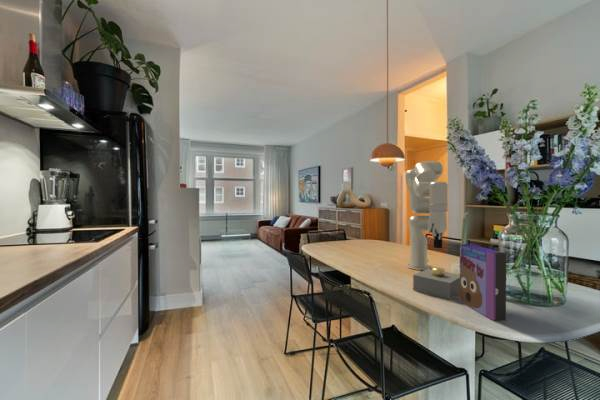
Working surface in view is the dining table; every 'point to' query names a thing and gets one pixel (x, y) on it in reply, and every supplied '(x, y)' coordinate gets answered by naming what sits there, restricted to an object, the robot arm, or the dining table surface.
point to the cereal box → (483, 281)
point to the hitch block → (437, 284)
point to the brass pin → (438, 272)
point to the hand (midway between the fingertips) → (437, 247)
